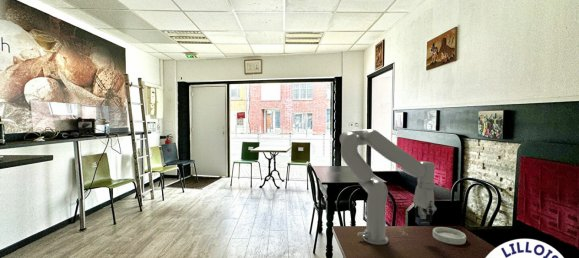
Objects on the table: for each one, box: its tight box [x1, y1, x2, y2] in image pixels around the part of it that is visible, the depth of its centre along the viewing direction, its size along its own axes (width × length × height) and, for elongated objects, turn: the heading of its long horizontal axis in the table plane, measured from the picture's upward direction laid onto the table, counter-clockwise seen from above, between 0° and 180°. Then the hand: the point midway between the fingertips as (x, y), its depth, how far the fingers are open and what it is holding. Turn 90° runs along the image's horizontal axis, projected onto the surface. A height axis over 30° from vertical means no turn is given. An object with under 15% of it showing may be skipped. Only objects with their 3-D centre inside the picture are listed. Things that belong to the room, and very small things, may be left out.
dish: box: [432, 226, 467, 246], centre depth 147 cm, size 15×15×3 cm
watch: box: [415, 206, 431, 227], centre depth 143 cm, size 6×8×11 cm
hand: (423, 218), depth 144 cm, fingers closed on watch, 8 cm apart
